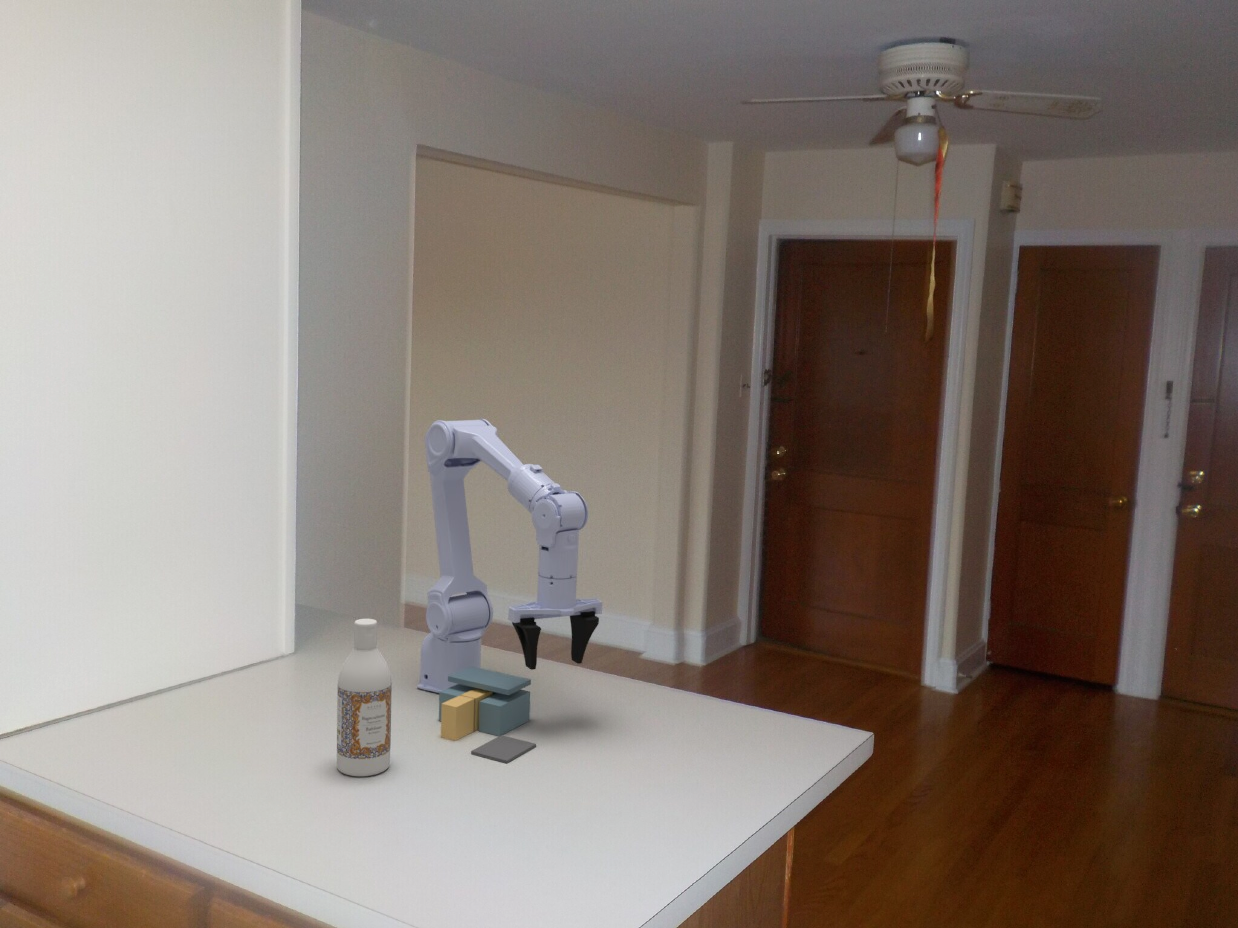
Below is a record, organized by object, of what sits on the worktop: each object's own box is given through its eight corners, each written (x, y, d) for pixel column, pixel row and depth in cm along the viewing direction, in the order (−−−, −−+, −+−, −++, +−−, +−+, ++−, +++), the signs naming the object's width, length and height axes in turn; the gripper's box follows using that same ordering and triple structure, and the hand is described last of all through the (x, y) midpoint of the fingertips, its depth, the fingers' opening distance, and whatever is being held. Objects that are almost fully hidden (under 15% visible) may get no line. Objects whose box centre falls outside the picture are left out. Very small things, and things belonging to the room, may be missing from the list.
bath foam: (347, 781, 140) (349, 630, 138) (329, 762, 146) (331, 617, 144) (398, 771, 144) (400, 624, 142) (378, 753, 150) (381, 612, 148)
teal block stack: (438, 720, 163) (439, 679, 163) (470, 705, 170) (471, 666, 170) (499, 736, 158) (500, 693, 158) (529, 720, 165) (530, 679, 165)
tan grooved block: (440, 736, 157) (441, 703, 157) (477, 718, 165) (477, 686, 164) (455, 740, 156) (456, 707, 155) (491, 722, 164) (492, 690, 163)
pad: (471, 753, 151) (471, 750, 151) (501, 737, 158) (501, 734, 158) (506, 763, 149) (507, 760, 148) (536, 746, 155) (536, 743, 155)
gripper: (524, 584, 153) (520, 678, 154) (613, 577, 160) (609, 666, 162) (503, 573, 159) (500, 664, 160) (590, 566, 166) (587, 653, 168)
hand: (553, 664), depth 161 cm, fingers open, 7 cm apart
